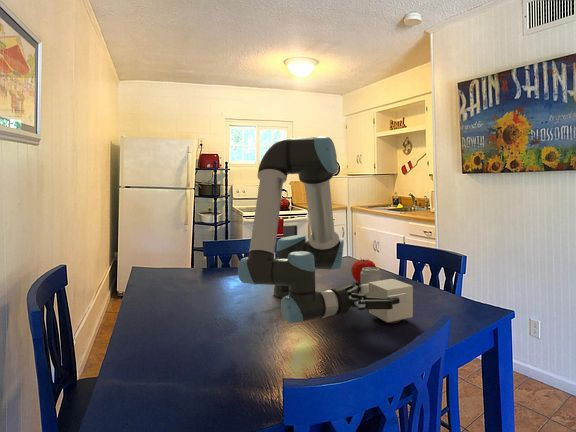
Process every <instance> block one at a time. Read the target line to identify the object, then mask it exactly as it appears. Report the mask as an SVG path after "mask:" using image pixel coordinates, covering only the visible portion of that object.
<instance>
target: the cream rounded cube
mask: <svg viewBox="0 0 576 432" xmlns="http://www.w3.org/2000/svg"><path fill="white" fill-rule="evenodd" d="M413 288H414V287H413V285H412V284H410V283H406V282H403V281H400V280H397V279H394V278H389V279H388V278H387V279H383V280H382V279H381V281H375V282H369V296H370V297H386V298H387V296H391V295H396V294H402V293H406V303H401V304H396V305H393V309H389V310H388V309H368V313H369V314H371V315H373V316H375V317H377V318H378V319H380V320H381V319H382V320H384V321H386V322H385V323H387V322H392V321H397V320H400V321H401V320H406V319H411V318H413V315H414V314H413V313H414V303H413V302H414V301H413V299H414V298H413V297H414V296H413V295H414V294H413V293H414V289H413ZM382 320H381V321H382Z"/></svg>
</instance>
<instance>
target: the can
mask: <svg viewBox="0 0 576 432" xmlns="http://www.w3.org/2000/svg"><path fill="white" fill-rule="evenodd" d="M381 280H382V272H381V271H380V268H378V267H376V268H375V267H365V268H363V269H362V271H361V283H360V285H363V284H369V282H375V281H381ZM360 294H364V295H366V296H369V292H368V293H360ZM362 300H363V297H362Z"/></svg>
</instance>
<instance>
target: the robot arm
mask: <svg viewBox="0 0 576 432" xmlns="http://www.w3.org/2000/svg"><path fill="white" fill-rule="evenodd" d="M334 143H335V142H333V140H332V138H331V137H329V136H317V135H316V136H315V135H314V136H310V137H307V136H306V137H294V138H292V137H291V138H289V137H288V138H283V139H280V140H278V141H275V143H273V144H272V145H271V146H270V147H269V148H268V149H267V150H266V152H264V153H265V154H264V155H263V156H262V158H261V160H260V163H259V165H258V168H257V169H258V170H257V175H256V176H257V179H258V180H259V183H258V184H259V185H258V191H257V195H256V196H257V198H256V202H255V203H256V204H255V212H254V217H253V224H252V230H251V231H252V232H251V236H250V237H251V238H250V242H249V243H250V245H249V250H248V256H247V257H243V258H241V259H239V260H240V261H239V263H238V265H237V276H238V279H239V281H240V282H241V283H242V284H249V285H254V286H255V285H256V286H257V285H267V286H269V285H271V286H273V295H274V296H275V297H276V296H277V297H276V298H279V297H280V299H281V300H280V301H281V302H280V313H281V316H282V318H283V320H284V321H285V322H286V323H289V324H293V323H295V324H296V323H303V322H307V321H310V320H311V321H312V320H315V319H321V318H322V319H326V318H327V317H331V316H336V315H337V316H338V315H342V314H347V313H348V312H349V310H350V308H357V310H358V311H365V310H369V309H388V310H389V309H393V305H396V304H401V303H406V293H402V294H396V295H391V296H387V298H386V297H370V296H366V295H364V294H361V293H368V292H369V284H363V285H361V284H360V282H355V283H351V284H348V285H346V286H344V287H336V288H335V287H334V288H331V289H329V288H328V289H323V290H316V270H329V271H331V270H340V268H341V267H342V263H343V253H344V242H345V241H344V239H341V238H340V236H339V234H338V233H337V232H336V231H335V226H334V225H335V223H334V214H333V203H332V194H331V184H330V183H331V182H330V180H331V179H332V178H333V177H334V173H336V172H337V171H338V159H337V157H338V156H337V151H336V146H335V144H334ZM288 175H298V180H299V181H300V182H301V183H302V184H303V185H304V191H305V197H306V204H307V205H306V206H307V211H308V219H309V224H310V232H311V235H310V236H309V238H307V236H306V235H304V234H295V235H290V236H289V235H288V236H286V237H281V238H279V239H277V234H278V227H279V218H280V211H281V203H282V194H283V186H284V183H286V182H287V178H288ZM275 250H276V251H275ZM275 252H276V258H275ZM362 297H363V299H362Z"/></svg>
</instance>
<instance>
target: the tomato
mask: <svg viewBox="0 0 576 432" xmlns="http://www.w3.org/2000/svg"><path fill="white" fill-rule="evenodd" d="M365 267H375V268H377V266H376V264H375V263H374V262H373V261H372V260H371V259H370V258H369V259H362V258H361V257H360V259H358V260H357V261H355V262H353V264H352V265H351V269H350V271H351V275H352V277H353V279H354V280H355V281H356V282H357V283H359V284H361V271H362V269H363V268H365Z"/></svg>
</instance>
